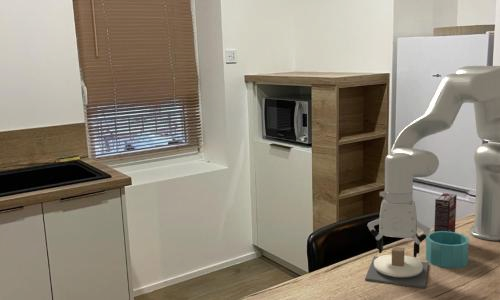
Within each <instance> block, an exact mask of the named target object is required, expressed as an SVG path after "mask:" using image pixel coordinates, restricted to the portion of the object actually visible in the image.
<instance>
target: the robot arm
mask: <svg viewBox="0 0 500 300" xmlns="http://www.w3.org/2000/svg"><path fill="white" fill-rule="evenodd" d="M464 103H466V104H467V103H468V104H473V109H474V117H475V127H476V129H475V130H476V134H477V137H478V138H479V139H480V140H481V141H484V142H485V143H482V144H480V145H478V146H477V148H476V149H475V151H474V154H473V155H474V156H473V159H474V166H475V173H476V175H475V176H476V182H475V183H476V185H475V187H476V188H475V207H474V208H475V209H474V210H475V211H474V212H475V214H474V225H472V226H471V227H469V234H470V235H471V236H473V237H475V238H478V239H481V240H486V241H494V242H495V241H500V65H466V66H462V67H459V68H458V69H456V70H455V72H454V73H448V74H446V75H445V76H443V77H442V79H441V80H440V82H439V83H438V86H437V87H436V89H435V91H434V93H433V95H432V97H431V99H430V102H429V103H428V105H427V107H426V109H425V111H424V113H423V114H422V115H421V116H420V117H418V118H417V119H415V120H414V121H412V122H411V123H409V124H408V125H407V126H406V127H405V128H404V129H402V131H400V133H399V134H398V136H397V137H396V138H395V141H394V142H393V144H392V147H391V149H390V152H389V154H387V155H386V156H385V159H384V190H383V191H379V197H382V198H383V199H382V200H381V204H380V211H379V218H377V219H374V220H371V221H370V222H369V221H368V223H367V225H366V227H368V230H369V231H370V234H371V235H372V236H373V237H374V238H375V240H376V249H377V250H378V253H379V254H382V253H383V250H384V238H383V236H385V237H390V238H401V239H411V240H412V241H413V258H417V255H420V245H421V243H422V242H424V241H425V240H426V238H427V235H428V234H429V233H431V228H430V227H428V226H427V225H425V224H423V223H421V222H420V221H418V216H417V207H416V203H415V202H416V201H414V200H413V191H414V190H413V188H414V187H413V186H414V185H413V183H414V182H413V181H414V178H426V177H430V176H433V174H435V173H436V172H437V170H438V169H439V165H440V162H439V158H438V156H437V155H436V154H435V153H434V152H431V151H428V150H425V149H424V150H423V149H418V148H414V146H415V145H416V144H417V143H419V141H421V140H422V139H424V138H426V137H428V136H431V135H436V134H438V133H441V132H444V131H446V130H448V129H450V128H452V126H453V125H454V122H455V120H456V119H457V116H458V114H459V112H460V109H461V107H462V106H463V104H464ZM486 142H487V143H486ZM378 225H379V226H378ZM375 226H378V227H379V228H378V231H379V232H378V231H377V229H376V228H375ZM418 229H419V230H421V231H422V232H423V233H421V234H420V235H419V234H418V233H417V230H418Z"/></svg>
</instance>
